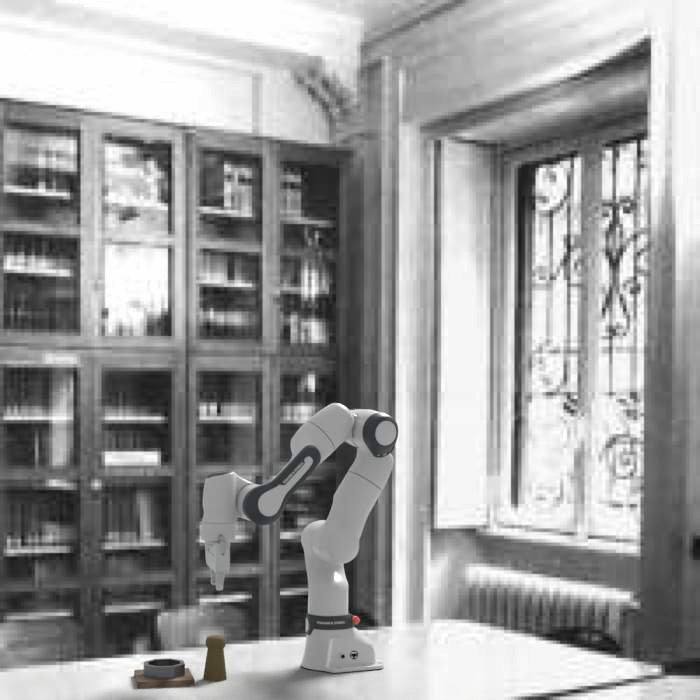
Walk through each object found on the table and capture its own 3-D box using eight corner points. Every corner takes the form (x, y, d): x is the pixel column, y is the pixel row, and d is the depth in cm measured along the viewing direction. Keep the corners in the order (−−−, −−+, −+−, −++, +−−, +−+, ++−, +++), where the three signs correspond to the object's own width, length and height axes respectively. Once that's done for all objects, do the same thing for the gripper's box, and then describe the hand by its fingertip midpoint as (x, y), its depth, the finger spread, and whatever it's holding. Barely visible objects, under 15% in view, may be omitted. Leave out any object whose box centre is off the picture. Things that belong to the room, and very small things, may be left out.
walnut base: (188, 673, 286) (188, 667, 286) (194, 685, 272) (194, 679, 272) (134, 675, 282) (134, 669, 283) (137, 688, 269) (137, 682, 269)
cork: (222, 682, 277) (223, 638, 278) (199, 680, 278) (200, 636, 279) (229, 677, 283) (230, 633, 284) (207, 675, 284) (208, 632, 285)
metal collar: (181, 669, 284) (182, 658, 284) (185, 678, 274) (186, 666, 274) (142, 671, 281) (142, 659, 281) (145, 679, 271) (145, 667, 272)
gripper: (236, 537, 274) (234, 593, 273) (225, 530, 294) (223, 582, 293) (211, 537, 273) (209, 593, 272) (201, 529, 292) (200, 582, 291)
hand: (216, 587), depth 282 cm, fingers open, 8 cm apart
